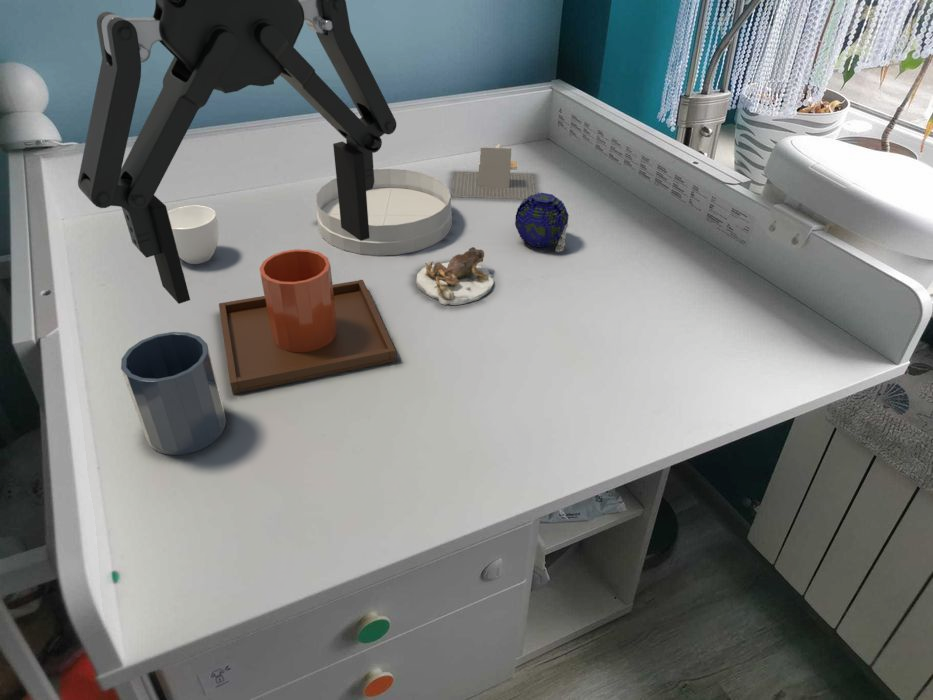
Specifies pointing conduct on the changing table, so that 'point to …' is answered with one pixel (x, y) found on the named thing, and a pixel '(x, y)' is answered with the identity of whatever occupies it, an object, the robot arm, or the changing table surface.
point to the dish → (391, 214)
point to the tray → (269, 365)
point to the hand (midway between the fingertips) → (272, 261)
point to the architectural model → (494, 177)
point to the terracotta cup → (299, 300)
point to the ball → (542, 221)
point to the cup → (194, 232)
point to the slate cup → (174, 392)
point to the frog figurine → (456, 279)
